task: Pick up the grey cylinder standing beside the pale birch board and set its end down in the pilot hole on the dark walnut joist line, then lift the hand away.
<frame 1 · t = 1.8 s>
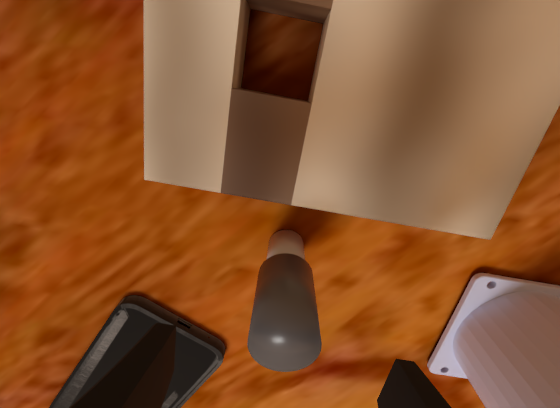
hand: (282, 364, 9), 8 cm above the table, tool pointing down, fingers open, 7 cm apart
grey cylinder: (286, 245, 17), on the table
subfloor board: (345, 69, 13), on the table
phone: (137, 374, 22), on the table
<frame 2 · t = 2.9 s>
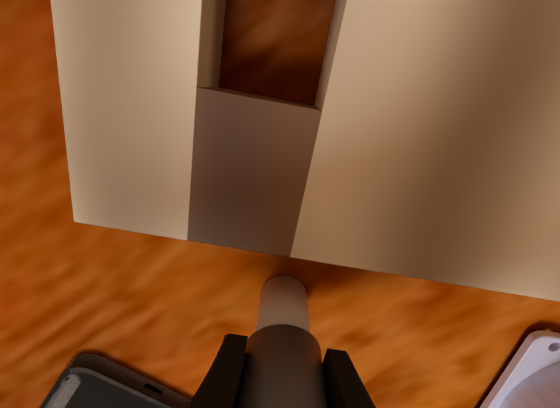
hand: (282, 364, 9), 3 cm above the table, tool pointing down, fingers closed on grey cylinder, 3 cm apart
grey cylinder: (283, 294, 13), on the table, touching gripper
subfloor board: (368, 60, 9), on the table
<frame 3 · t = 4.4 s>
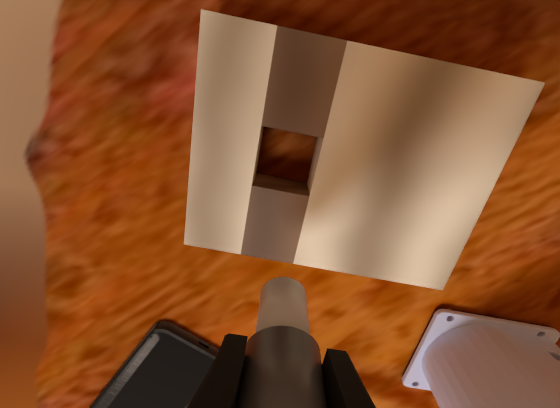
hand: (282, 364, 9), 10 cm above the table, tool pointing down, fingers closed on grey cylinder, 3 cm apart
grey cylinder: (283, 296, 13), point 7 cm above the table, touching gripper
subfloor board: (335, 162, 18), on the table
phone: (161, 384, 26), on the table
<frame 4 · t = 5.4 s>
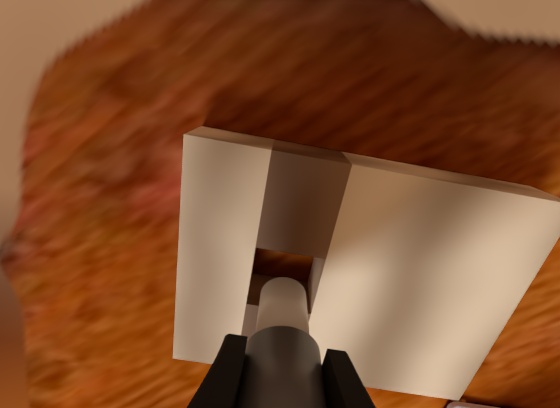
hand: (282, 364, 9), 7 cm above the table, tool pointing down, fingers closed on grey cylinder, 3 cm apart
grey cylinder: (283, 296, 13), point 3 cm above the table, touching gripper
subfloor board: (338, 262, 16), on the table
when the fingers open (4 cm above the table, at t = 6.1 s): grey cylinder stays where it is, resting in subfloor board.
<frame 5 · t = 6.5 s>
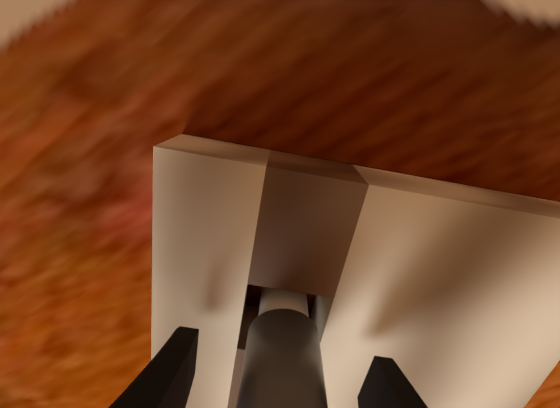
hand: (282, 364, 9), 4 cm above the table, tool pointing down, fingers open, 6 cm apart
grey cylinder: (283, 284, 13), resting in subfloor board
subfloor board: (347, 293, 13), on the table
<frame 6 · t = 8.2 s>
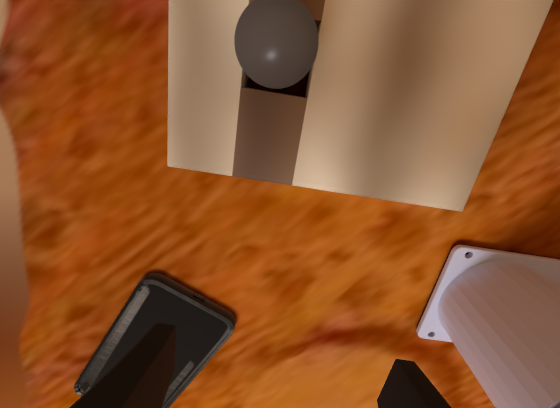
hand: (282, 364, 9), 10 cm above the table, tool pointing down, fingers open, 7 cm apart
grey cylinder: (280, 61, 15), resting in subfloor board
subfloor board: (335, 69, 15), on the table
phone: (156, 347, 24), on the table
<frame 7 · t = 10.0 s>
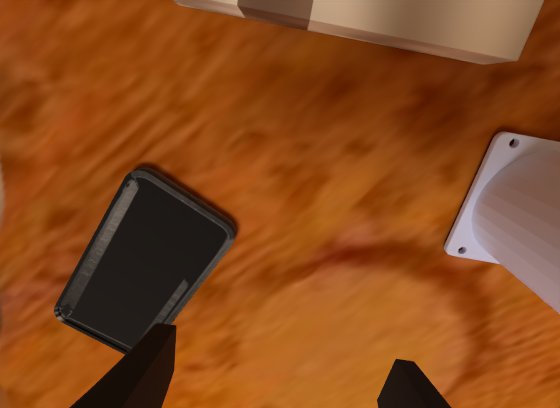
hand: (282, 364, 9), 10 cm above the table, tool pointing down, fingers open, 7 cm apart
phone: (146, 267, 22), on the table
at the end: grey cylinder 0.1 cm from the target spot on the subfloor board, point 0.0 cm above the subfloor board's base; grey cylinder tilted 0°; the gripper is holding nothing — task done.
